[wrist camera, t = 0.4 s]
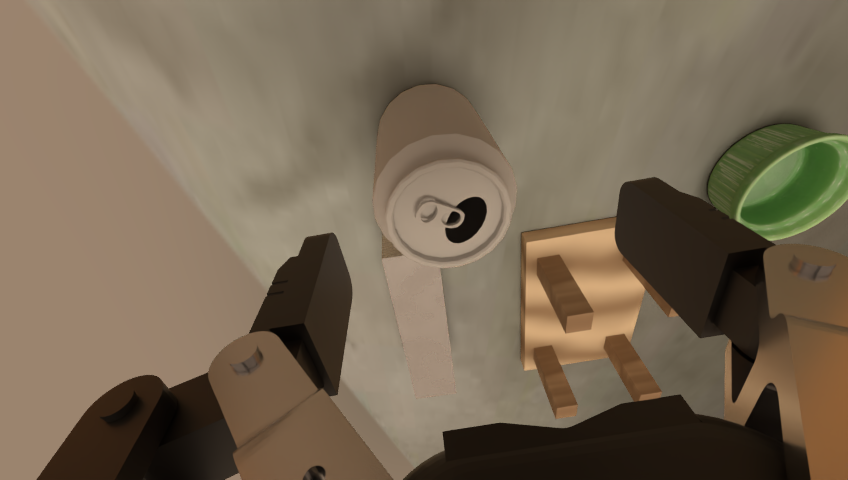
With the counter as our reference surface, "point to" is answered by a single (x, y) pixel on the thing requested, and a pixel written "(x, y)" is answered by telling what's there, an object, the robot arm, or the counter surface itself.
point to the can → (440, 179)
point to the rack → (581, 308)
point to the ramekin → (781, 179)
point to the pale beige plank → (420, 321)
